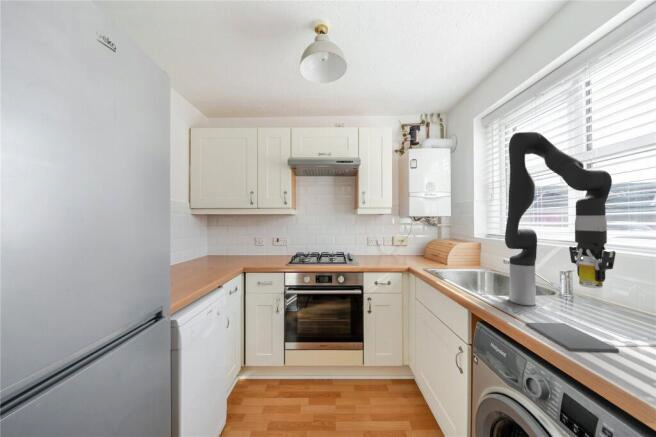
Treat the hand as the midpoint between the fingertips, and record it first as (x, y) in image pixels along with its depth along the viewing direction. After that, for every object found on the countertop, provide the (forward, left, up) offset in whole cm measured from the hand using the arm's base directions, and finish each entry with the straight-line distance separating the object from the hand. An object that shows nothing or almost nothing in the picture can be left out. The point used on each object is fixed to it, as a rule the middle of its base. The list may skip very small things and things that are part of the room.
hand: (590, 278), depth 86 cm
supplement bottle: (0, 0, -3) cm, 3 cm away
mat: (+5, -12, -17) cm, 22 cm away
